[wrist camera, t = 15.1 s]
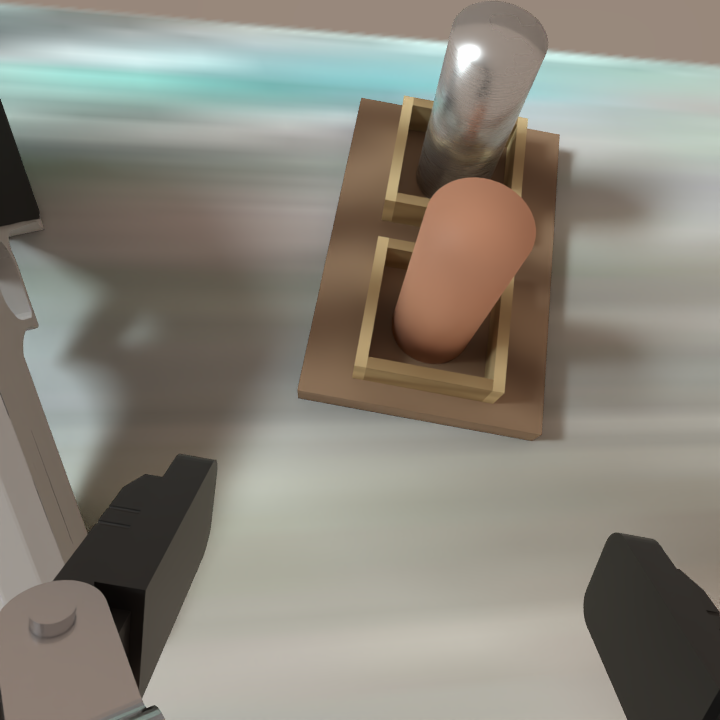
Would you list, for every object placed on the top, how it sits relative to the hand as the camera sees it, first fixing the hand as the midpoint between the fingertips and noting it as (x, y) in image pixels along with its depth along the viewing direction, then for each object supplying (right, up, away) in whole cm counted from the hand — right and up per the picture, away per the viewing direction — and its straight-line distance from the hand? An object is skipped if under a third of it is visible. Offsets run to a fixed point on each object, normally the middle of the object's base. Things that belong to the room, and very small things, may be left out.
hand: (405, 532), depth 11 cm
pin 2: (+3, +5, +20) cm, 21 cm away
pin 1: (+5, +15, +24) cm, 28 cm away
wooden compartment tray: (+4, +9, +23) cm, 25 cm away
